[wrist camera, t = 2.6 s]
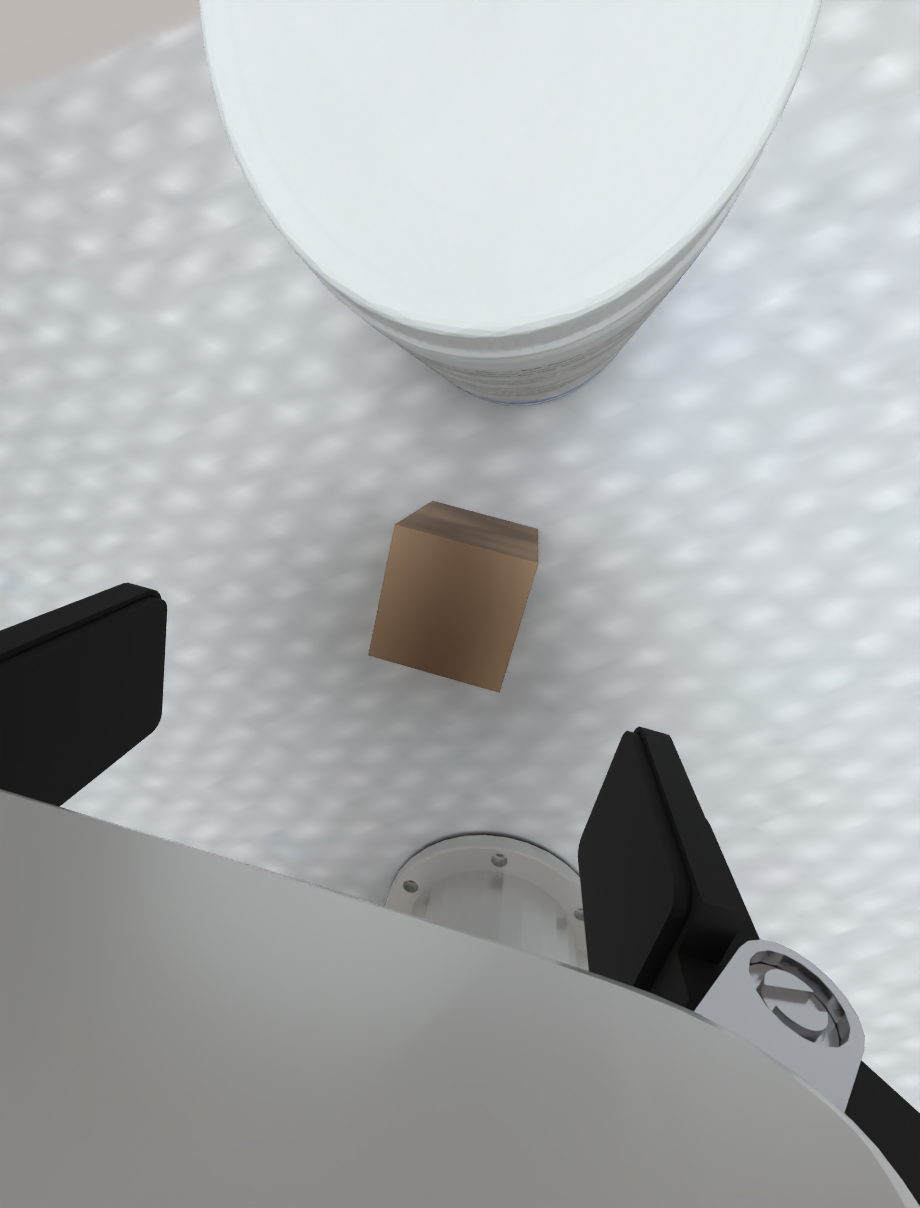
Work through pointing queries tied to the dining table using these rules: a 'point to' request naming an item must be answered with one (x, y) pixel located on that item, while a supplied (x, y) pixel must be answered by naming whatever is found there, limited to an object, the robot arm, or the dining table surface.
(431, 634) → the walnut block
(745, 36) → the supplement tub
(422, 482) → the dining table surface
